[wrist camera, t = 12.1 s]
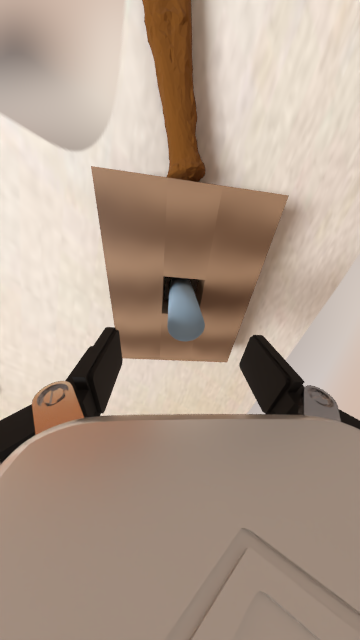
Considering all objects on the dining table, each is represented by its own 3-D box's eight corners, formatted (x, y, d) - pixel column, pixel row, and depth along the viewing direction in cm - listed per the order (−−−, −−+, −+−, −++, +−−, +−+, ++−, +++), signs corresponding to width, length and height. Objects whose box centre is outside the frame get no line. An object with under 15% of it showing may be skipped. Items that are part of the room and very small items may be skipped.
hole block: (219, 344, 26) (226, 362, 23) (126, 340, 25) (119, 358, 22) (264, 202, 16) (288, 195, 13) (109, 180, 15) (91, 166, 11)
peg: (189, 296, 22) (201, 342, 13) (168, 295, 21) (166, 340, 13) (192, 275, 20) (208, 311, 11) (170, 273, 20) (168, 308, 11)
